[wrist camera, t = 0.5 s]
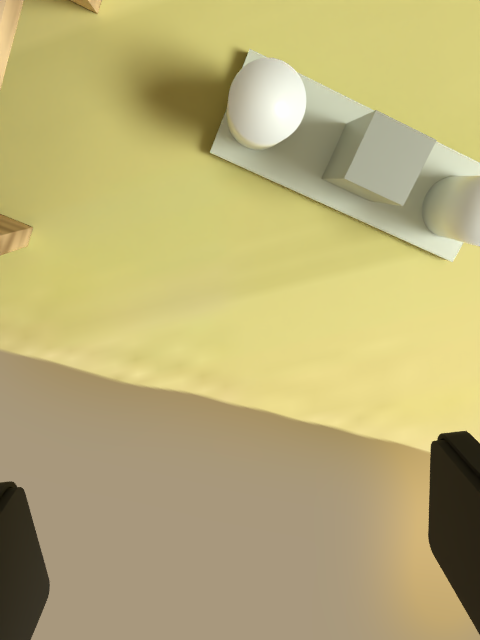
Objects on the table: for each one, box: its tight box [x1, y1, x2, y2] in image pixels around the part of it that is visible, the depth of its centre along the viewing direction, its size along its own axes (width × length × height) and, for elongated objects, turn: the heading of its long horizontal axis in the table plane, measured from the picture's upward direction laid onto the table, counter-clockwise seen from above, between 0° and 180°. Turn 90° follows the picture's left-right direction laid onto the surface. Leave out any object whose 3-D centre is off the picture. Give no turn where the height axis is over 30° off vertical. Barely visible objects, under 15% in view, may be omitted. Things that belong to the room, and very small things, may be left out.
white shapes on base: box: [210, 49, 480, 262], centre depth 30 cm, size 7×20×8 cm, turn 67°
